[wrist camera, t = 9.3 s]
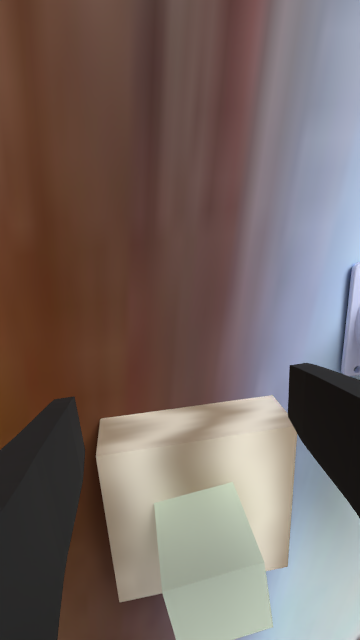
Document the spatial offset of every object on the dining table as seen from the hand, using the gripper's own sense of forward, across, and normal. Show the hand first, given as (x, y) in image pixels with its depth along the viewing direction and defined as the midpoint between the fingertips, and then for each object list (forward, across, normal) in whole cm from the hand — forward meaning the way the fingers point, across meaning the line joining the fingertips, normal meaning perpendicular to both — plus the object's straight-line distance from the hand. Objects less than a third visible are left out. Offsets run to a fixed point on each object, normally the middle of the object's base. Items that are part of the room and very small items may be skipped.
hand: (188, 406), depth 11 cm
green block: (+6, -1, +13) cm, 14 cm away
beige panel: (+10, -1, +13) cm, 16 cm away
